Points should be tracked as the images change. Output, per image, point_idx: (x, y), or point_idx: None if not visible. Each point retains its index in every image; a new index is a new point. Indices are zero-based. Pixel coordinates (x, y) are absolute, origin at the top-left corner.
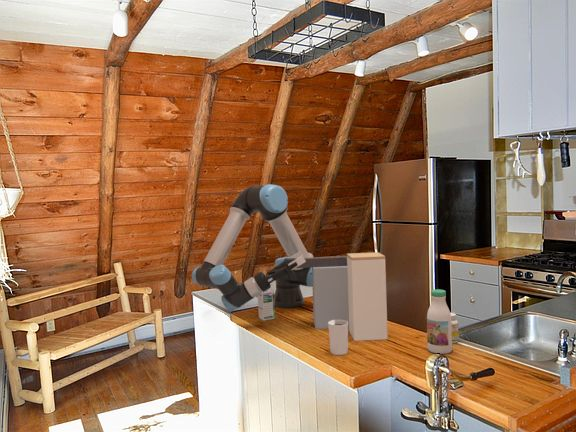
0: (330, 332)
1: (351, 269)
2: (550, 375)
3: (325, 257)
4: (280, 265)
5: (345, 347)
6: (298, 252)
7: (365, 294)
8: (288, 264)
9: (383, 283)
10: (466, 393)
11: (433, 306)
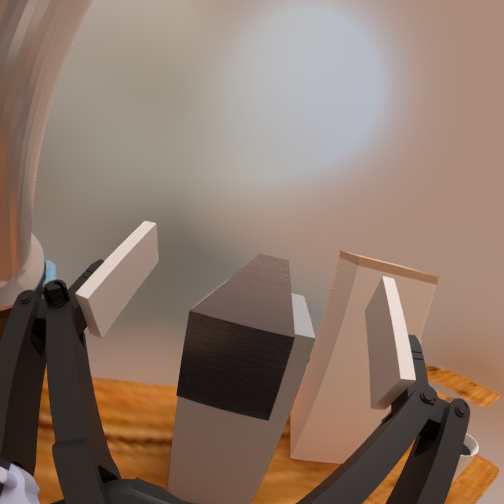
0: (465, 467)
1: (421, 310)
2: (425, 365)
3: (268, 266)
4: (79, 386)
5: None
6: (147, 231)
7: None
8: (414, 376)
9: None
10: (483, 404)
11: (419, 340)
